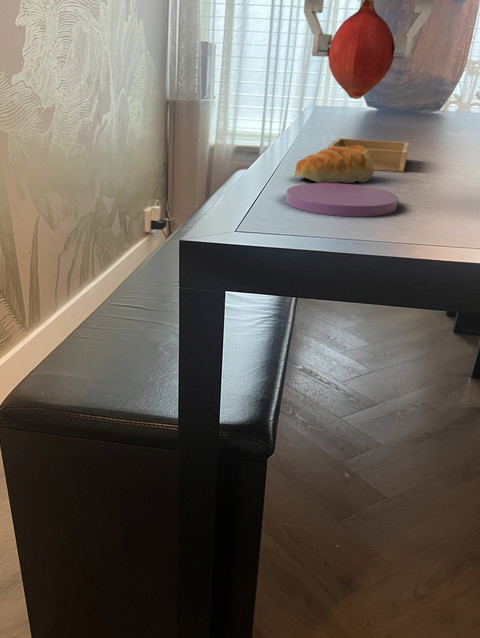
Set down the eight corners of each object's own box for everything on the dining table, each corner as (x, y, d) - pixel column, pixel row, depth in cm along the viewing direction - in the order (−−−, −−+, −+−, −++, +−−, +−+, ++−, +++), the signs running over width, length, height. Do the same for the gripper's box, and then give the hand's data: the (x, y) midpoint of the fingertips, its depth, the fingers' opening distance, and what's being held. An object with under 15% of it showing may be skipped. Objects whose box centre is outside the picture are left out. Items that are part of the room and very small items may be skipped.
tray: (335, 155, 91) (337, 137, 89) (405, 161, 88) (409, 142, 87) (325, 165, 82) (327, 146, 81) (403, 172, 79) (406, 151, 78)
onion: (314, 96, 59) (325, -1, 55) (370, 97, 60) (383, 2, 56) (337, 100, 54) (350, -6, 50) (397, 101, 55) (414, -3, 51)
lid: (370, 192, 67) (372, 182, 66) (416, 216, 57) (418, 205, 57) (273, 192, 65) (274, 183, 65) (303, 217, 56) (305, 206, 55)
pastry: (317, 187, 68) (321, 151, 66) (280, 178, 73) (283, 144, 72) (377, 181, 73) (382, 147, 71) (338, 172, 78) (342, 141, 76)
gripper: (521, -133, 48) (479, 61, 55) (271, -121, 54) (260, 54, 60) (533, -157, 43) (485, 61, 50) (254, -141, 49) (244, 54, 55)
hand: (359, 57), depth 55 cm, fingers closed on onion, 6 cm apart
